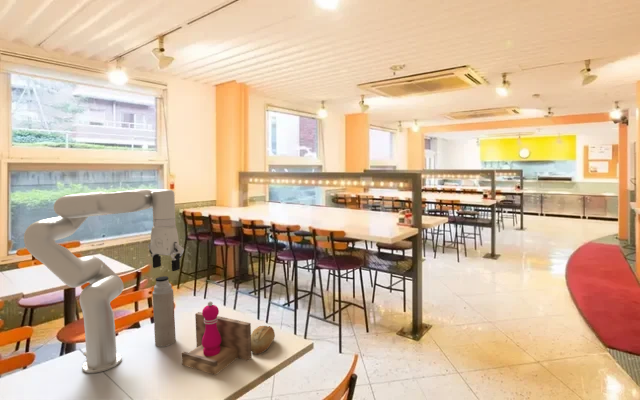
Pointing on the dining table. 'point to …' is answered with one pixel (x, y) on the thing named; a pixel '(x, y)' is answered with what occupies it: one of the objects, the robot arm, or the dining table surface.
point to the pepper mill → (211, 331)
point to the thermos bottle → (163, 312)
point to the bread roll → (261, 339)
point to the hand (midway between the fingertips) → (166, 268)
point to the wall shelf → (231, 346)
